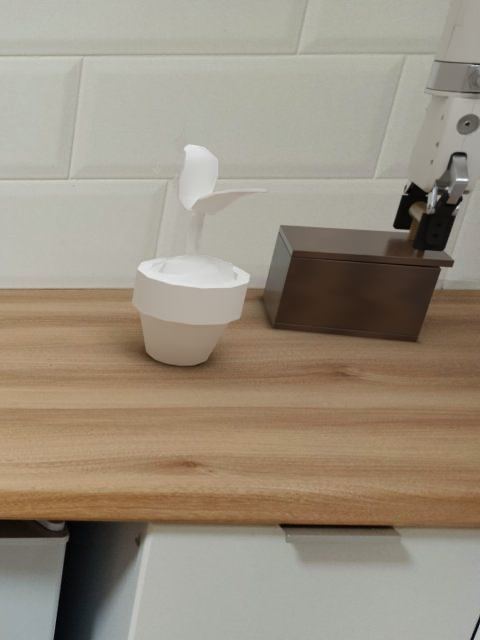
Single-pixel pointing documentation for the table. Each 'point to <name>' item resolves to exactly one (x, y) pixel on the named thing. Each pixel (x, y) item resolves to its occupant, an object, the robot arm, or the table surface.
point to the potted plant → (191, 273)
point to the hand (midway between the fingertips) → (416, 239)
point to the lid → (363, 244)
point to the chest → (348, 296)
